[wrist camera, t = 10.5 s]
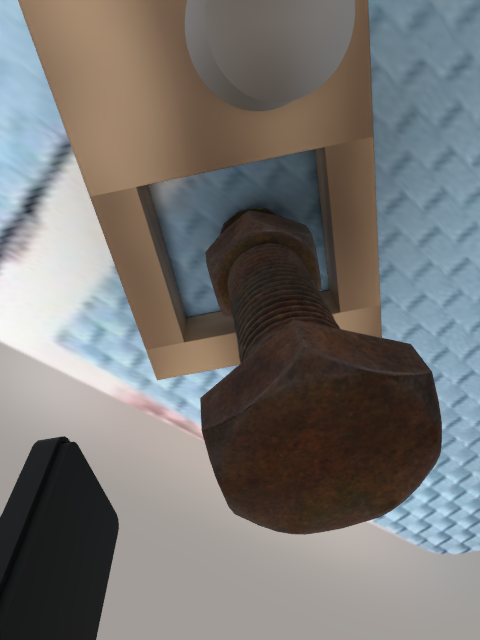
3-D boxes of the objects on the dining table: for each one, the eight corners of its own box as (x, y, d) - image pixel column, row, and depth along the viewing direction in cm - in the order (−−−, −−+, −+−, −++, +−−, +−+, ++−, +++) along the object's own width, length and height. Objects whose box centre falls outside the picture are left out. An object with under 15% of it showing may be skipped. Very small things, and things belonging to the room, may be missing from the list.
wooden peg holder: (343, -104, 17) (455, -237, 9) (367, 314, 26) (433, 427, 18) (30, -27, 17) (-118, -90, 10) (161, 353, 26) (140, 478, 19)
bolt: (309, 272, 24) (444, 516, 11) (218, 297, 25) (249, 564, 12) (288, 163, 21) (440, 324, 8) (185, 192, 22) (180, 391, 9)
